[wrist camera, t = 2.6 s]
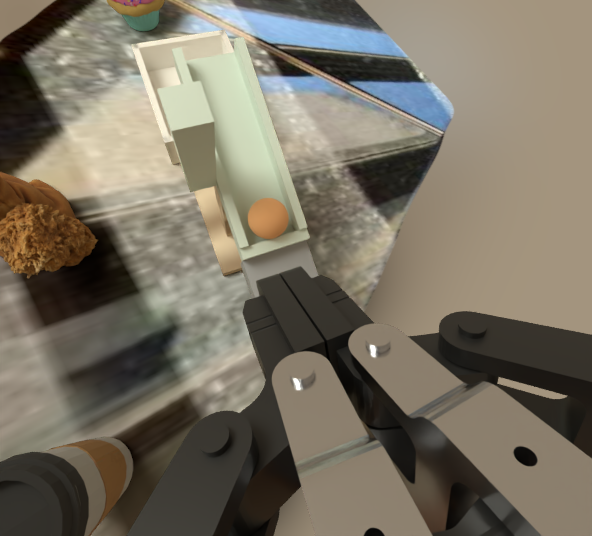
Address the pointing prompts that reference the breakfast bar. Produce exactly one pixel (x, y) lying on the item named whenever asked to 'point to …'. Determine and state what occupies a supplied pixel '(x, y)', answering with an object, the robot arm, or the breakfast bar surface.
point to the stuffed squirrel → (39, 228)
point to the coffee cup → (63, 488)
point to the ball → (268, 218)
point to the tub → (173, 69)
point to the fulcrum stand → (219, 230)
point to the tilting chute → (236, 155)
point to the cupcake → (139, 12)
